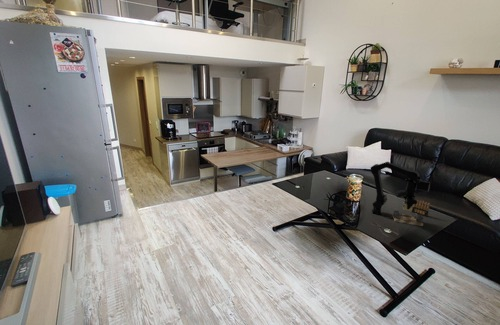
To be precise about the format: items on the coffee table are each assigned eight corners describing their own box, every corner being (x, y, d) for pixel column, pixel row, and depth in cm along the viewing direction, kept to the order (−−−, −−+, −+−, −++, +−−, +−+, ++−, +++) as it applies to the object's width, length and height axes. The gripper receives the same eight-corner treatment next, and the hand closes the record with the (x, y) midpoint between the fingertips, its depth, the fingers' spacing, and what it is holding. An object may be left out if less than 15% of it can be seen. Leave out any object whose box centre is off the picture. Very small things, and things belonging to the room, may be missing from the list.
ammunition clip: (411, 212, 196) (414, 198, 193) (412, 211, 197) (415, 197, 194) (427, 217, 188) (430, 203, 185) (427, 216, 190) (431, 202, 186)
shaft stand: (394, 221, 181) (396, 214, 179) (392, 215, 190) (393, 209, 188) (422, 226, 175) (424, 219, 173) (418, 219, 184) (420, 213, 182)
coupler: (402, 207, 182) (403, 200, 180) (410, 208, 180) (411, 202, 178) (403, 209, 177) (404, 203, 176) (412, 211, 175) (413, 204, 174)
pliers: (391, 238, 159) (364, 224, 175) (391, 239, 159) (364, 225, 175) (399, 234, 163) (372, 221, 180) (399, 235, 163) (372, 222, 180)
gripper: (396, 182, 185) (392, 201, 189) (400, 190, 169) (396, 211, 173) (413, 184, 181) (409, 203, 185) (419, 193, 165) (415, 214, 169)
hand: (407, 207), depth 178 cm, fingers closed on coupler, 5 cm apart
